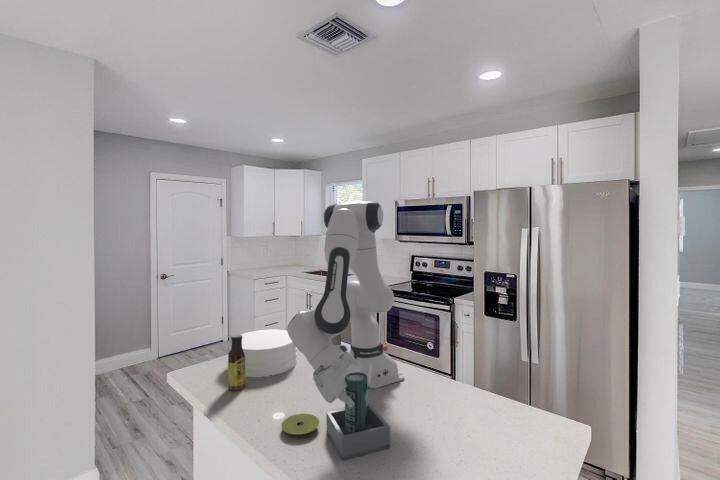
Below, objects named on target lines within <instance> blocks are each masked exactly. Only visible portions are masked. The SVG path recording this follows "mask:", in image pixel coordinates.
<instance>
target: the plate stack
mask: <svg viewBox="0 0 720 480" xmlns="http://www.w3.org/2000/svg"><path fill="white" fill-rule="evenodd" d="M240 335H242V348H243V351H244V354H245V377H247V376H248V378H262V377H263V376H265V377H271V376H270V375H272V376H275V375H276V374H277V375H281V374H282V373H285V372H288V371H290V370H292V369H293V368H294V367H296V365H297V363H298V358H297V357H298V353H297V351H298V349H297V347H296V346H295V345H294V343H293V342H292V340H291V339H290V337H289V335H288V332H287V330H286V329H285V330H284V329H276V328H274V329H271V328H270V329H260V330H259V329H258V330H253V331H248V332H244V333H241V334H240ZM230 344H231V345H230V348H232V347H231V346H232V341H231V342H230ZM277 375H276V376H277Z"/></svg>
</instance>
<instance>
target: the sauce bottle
mask: <svg viewBox="0 0 720 480" xmlns="http://www.w3.org/2000/svg"><path fill="white" fill-rule="evenodd" d="M230 340H231V341H232V346H231V345H230V348H231V347H232V348H231V349H230V350H229V352H228V358H227V360H228V361H227V385H228V390H230V391H240V390H243V388H245V385H246V376H245V354H244V351H243V348H242V335H241V334H233V335H231V336H230Z"/></svg>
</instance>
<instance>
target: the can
mask: <svg viewBox="0 0 720 480" xmlns="http://www.w3.org/2000/svg"><path fill="white" fill-rule="evenodd" d="M345 379H346V383H347V385H348V387H347V388H346V389H345V390H344V391H345V392H346V393H347V394H346V395H347V396H349V397H350V398H352V397H353V399H354V400H355V401H356V403H355V404H354V406H353V407H351V408H350V407H349V406H348V405H347V404H346V403H344V408H345V429H346V431H347V432H348V433H350V434H351V433H356V432H360V431H365V430H367V404H368V387H367V376H366V374H364V373H359V372H358V373H357V372H354V373H349V374H347V375H346V376H345Z"/></svg>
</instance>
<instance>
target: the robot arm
mask: <svg viewBox="0 0 720 480" xmlns="http://www.w3.org/2000/svg"><path fill="white" fill-rule="evenodd" d="M383 221H384V211H383V208H382V206H381V205H380V203H379V202H376V201H370V200H369V201H351V202H343V203H334V204H330V205H328V206H327V207H326V209H325V210H324V212H323V222H324V225H325V228H327V229H326V232H325V238H324V239H325V240H324V259H325V261H326V265H327V266H326V267H327V269H326V270H327V271H326V272H327V273H326V279H325V286H324V292H323V295H322V296H321V297H322V298H321V299H320V300H319V302H318V304H317V305H316V307H315V308H314V309H311V310H310V309H309V310H306V311H304V310H301V311H299V312H298V313H296V314H295V315H294V316H293V317H292V318H291V320H290V321H289V323H288V325H287V328H286V329H287V330H286V331H287V332H288V335H289V337H290V339H291V340H292V342H293V343H294V345H295V346H296V347H297V351H299V352H300V353H301V354H303V356H304V357H305V358H306V360H307V362H308V363H309V365H310V366H311V367H312V369H313V370H314V371H313V373H312V376H313V378H312V380H313V381H314V383H315V387H316V388H317V390H318V392H319V393H320V395H321V396H322V397H323V399H324V400H325V401H326V402H327V403H328V404H332V403H334V402H335V401H336V400H337V399H338V400H339V401H340V402H342V403H344V404H345V403H346V404H347V405H348V406H349V407H350V408H351V407H353V406H354V404H355V403H356V401H355V400H354V399H353V397H352V398H350V397H349V396H347V395H346V394H347V393H346V392H345V389H346V388H347V387H348V385H347V383H346V379H345V376H346V375H347V374H349V373H354V372H357V373H358V372H359V373H364V374H366V376H367V388H369V389H374V390H375V389H379V388H382V387H384V386H388V385H391V384H394V383H397V382H400V381H404V379H405V376H404V373H403V372H402V371H401V370H400V369H399V367H398V364H397V362H396V361H395V359H394V358H392V357H391V356H390V355H389V354H388V353H386V352H388V350H389V347H388V345H385V344H383V343H381V342H380V326H379V322H378V320H376V319H375V318H374V316H373V314H372V313H386V312H389V311H390V310H391V309H392V307H393V305H394V302H395V295H394V292H393V290H392V289H391V287H390V286H388V284H387V283H386V282H385V280H384V277H382V274H381V271H380V268H379V262H378V252H377V251H378V250H377V240H376V234H375V233H376V231H377V230H379V229H380V228H381V226H383ZM350 270H351V272H352V273H354V275H355V276H356V278H357V279H356V280H353V279H352V280H348V279H349V271H350ZM349 324H350V331H351V333H350V335H351V343H350V349H349V348H348V347H347V346H346V345H345V344H341V345H334V344H333V343H332V342H331V338H333V337H335V336H337V335H339V334H341V335H342V333H344V332H345V330H346V328H347V327H348V326H349ZM348 351H349V352H348Z"/></svg>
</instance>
